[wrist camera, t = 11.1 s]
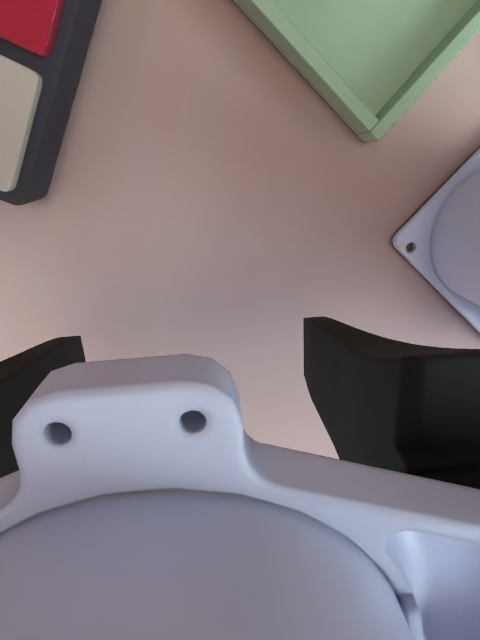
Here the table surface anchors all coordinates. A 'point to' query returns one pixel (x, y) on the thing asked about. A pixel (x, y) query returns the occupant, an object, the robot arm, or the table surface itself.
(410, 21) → the tray
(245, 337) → the table surface
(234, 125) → the table surface
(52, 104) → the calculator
